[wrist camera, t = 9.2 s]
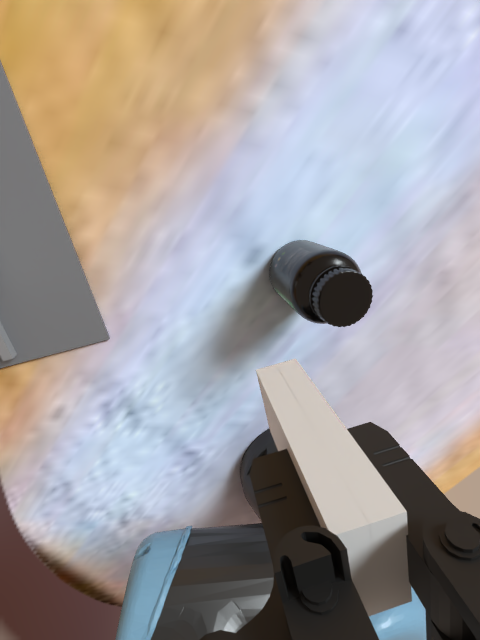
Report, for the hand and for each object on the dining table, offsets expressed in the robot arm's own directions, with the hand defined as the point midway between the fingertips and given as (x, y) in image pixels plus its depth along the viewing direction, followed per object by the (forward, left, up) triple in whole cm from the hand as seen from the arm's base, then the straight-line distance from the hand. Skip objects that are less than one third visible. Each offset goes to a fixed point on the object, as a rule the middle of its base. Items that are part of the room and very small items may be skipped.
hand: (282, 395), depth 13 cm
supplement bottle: (-3, -9, -27) cm, 28 cm away
